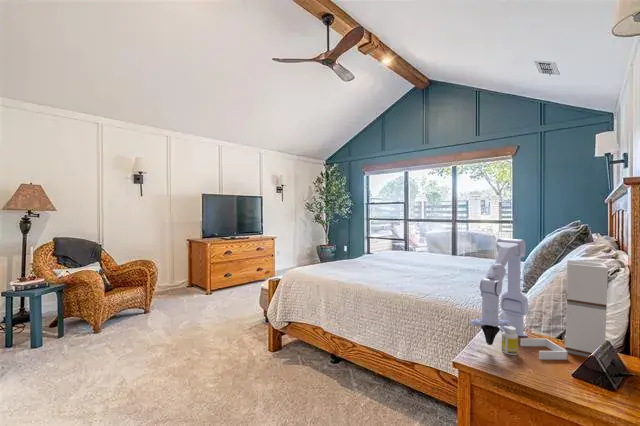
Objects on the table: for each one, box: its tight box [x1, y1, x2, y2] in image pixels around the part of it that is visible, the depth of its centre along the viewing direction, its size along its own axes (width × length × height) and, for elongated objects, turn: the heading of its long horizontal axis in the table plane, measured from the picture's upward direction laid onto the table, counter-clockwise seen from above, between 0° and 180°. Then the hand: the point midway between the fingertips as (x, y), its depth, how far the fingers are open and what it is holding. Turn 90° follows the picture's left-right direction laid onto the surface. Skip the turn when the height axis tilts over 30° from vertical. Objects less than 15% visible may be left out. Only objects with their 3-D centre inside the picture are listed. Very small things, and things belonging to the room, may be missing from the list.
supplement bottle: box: [501, 326, 519, 356], centre depth 121 cm, size 5×5×10 cm
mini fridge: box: [563, 259, 609, 358], centre depth 122 cm, size 11×11×35 cm
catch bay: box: [519, 337, 569, 361], centre depth 121 cm, size 11×11×3 cm
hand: (489, 343), depth 121 cm, fingers closed
